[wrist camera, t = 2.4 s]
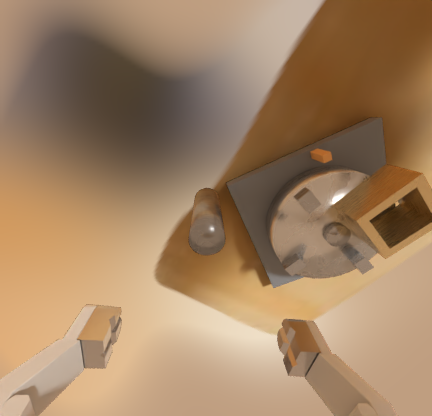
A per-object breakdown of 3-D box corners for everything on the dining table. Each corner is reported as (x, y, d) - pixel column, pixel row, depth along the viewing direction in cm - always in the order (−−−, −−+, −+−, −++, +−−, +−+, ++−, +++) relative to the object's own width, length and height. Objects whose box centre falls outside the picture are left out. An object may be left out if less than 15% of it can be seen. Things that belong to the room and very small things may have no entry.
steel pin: (212, 184, 24) (216, 218, 16) (223, 205, 25) (231, 247, 17) (190, 194, 24) (182, 232, 16) (201, 214, 25) (198, 260, 17)
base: (370, 117, 21) (404, 116, 18) (384, 238, 28) (411, 256, 24) (226, 182, 24) (229, 194, 20) (270, 280, 30) (279, 302, 27)
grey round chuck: (304, 277, 28) (331, 320, 22) (244, 220, 24) (256, 253, 18) (399, 213, 24) (460, 243, 18) (346, 132, 20) (404, 138, 14)
